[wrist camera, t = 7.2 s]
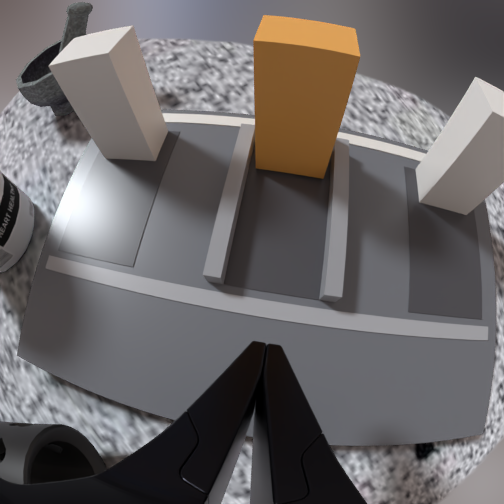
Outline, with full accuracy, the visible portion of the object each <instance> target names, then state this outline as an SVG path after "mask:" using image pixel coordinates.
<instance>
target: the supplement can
mask: <svg viewBox="0 0 504 504" xmlns="http://www.w3.org/2000/svg"><path fill="white" fill-rule="evenodd" d="M33 227H34V206H33V204H32V201H31V199H30V198H29V197H28V196H27V195H26V194H25V193H24V192H23V191H21V190H20V189H19V188H18V187H17V186H16V185H15V184H14V183H13V182H12V181H10V180H9V179H8V178H7V177H6V176H5V175H4V174H3V173H2V172H1V171H0V273H1V272H4V271H6V270H8V269H9V268H10V267H12V266H13V265H14V264H15V263H16V262H17V261H18V260H19V259H20V258H21V256H22V255H23V254H24V252H25V251H26V249H27V247H28V244H29V242H30V239H31V237H32V232H33Z"/></svg>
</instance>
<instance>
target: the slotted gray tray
mask: <svg viewBox="0 0 504 504" xmlns="http://www.w3.org/2000/svg"><path fill="white" fill-rule="evenodd" d="M49 68H50V70H51V72H52V73H53V75H54V77H55V79H56V80H57V82H58V84H59V86H60V87H61V89H62V91H63V92H64V94H65V96H66V97H67V99H68V101H69V102H70V104H71V106H72V107H73V109H74V111H75V112H76V114H77V115H78V117H79V119H80V120H81V122H82V123H83V125H84V127H85V128H86V130H87V131H88V133H89V134H90V136H91V140H90V141H89V143H88V145H87V147H86V149H85V151H84V153H83V155H82V157H81V159H80V161H79V163H78V165H77V167H76V169H75V171H74V173H73V175H72V177H71V179H70V182H69V184H68V186H67V188H66V190H65V193H64V195H63V197H62V200H61V202H60V204H59V207H58V209H57V212H56V214H55V217H54V219H53V222H52V225H51V227H50V230H49V233H48V235H47V238H46V241H45V244H44V247H43V250H42V253H41V256H40V259H39V262H38V266H37V269H36V272H35V276H34V279H33V283H32V287H31V290H30V294H29V298H28V302H27V306H26V311H25V315H24V320H23V325H22V330H21V335H20V340H19V346H18V352H17V356H19V357H21V358H23V359H24V360H26V361H28V362H30V363H32V364H34V365H35V366H37V367H39V368H41V369H43V370H45V371H47V372H49V373H51V374H53V375H55V376H57V377H59V378H61V379H64V380H66V381H68V382H70V383H72V384H74V385H77V386H79V387H81V388H84V389H86V390H88V391H91V392H93V393H96V394H98V395H101V396H103V397H106V398H108V399H111V400H114V401H116V402H119V403H122V404H125V405H127V406H130V407H133V408H136V409H139V410H142V411H145V412H149V413H152V414H155V415H158V416H162V417H165V418H169V419H172V420H176V419H177V418H178V417H179V416H180V415H181V414H183V413H184V412H185V411H186V410H187V409H188V408H189V407H190V406H191V405H192V404H193V403H194V402H195V401H196V400H197V399H198V398H199V397H200V396H201V395H202V394H203V393H204V392H205V391H206V389H207V388H208V387H209V386H210V385H211V384H212V383H213V382H214V381H215V380H216V379H217V378H218V377H219V376H220V375H221V374H222V373H223V372H224V371H225V370H226V369H227V368H228V367H229V365H230V364H231V363H232V362H233V361H234V360H235V359H236V358H237V357H238V356H239V355H240V354H241V353H242V352H243V350H244V349H245V348H246V347H247V346H248V345H249V344H250V343H251V342H252V341H259V342H265V343H266V346H267V344H268V343H271V344H277V345H281V346H282V348H283V350H284V352H285V354H286V356H287V358H288V360H289V362H290V365H291V367H292V369H293V371H294V373H295V375H296V377H297V379H298V381H299V383H300V386H301V388H302V390H303V392H304V394H305V396H306V398H307V400H308V402H309V404H310V406H311V408H312V411H313V413H314V415H315V417H316V419H317V421H318V423H319V425H320V427H321V429H322V431H323V432H322V434H324V435H325V437H326V439H327V441H328V443H329V445H343V446H381V445H403V444H416V443H427V442H436V441H444V440H451V439H458V438H464V437H470V436H475V435H480V434H483V431H484V426H485V421H486V416H487V411H488V405H489V399H490V393H491V386H492V378H493V368H494V357H495V342H496V285H495V269H494V258H493V249H492V240H491V233H490V226H489V220H488V214H487V208H486V203H485V199H486V198H487V197H488V196H489V195H490V194H491V193H492V192H493V191H494V190H496V189H497V188H498V187H499V186H500V185H501V184H502V183H503V182H504V92H503V91H501V90H500V89H498V88H496V87H494V86H492V85H491V84H489V83H487V82H485V81H482V80H481V79H479V78H477V77H475V78H474V80H473V82H472V84H471V85H470V87H469V89H468V90H467V92H466V94H465V95H464V97H463V99H462V100H461V102H460V103H459V105H458V107H457V108H456V110H455V111H454V113H453V114H452V116H451V118H450V119H449V121H448V122H447V124H446V125H445V127H444V128H443V130H442V131H441V133H440V134H439V136H438V137H437V139H436V140H435V142H434V143H433V145H432V146H431V148H430V149H429V151H427V150H423V149H420V148H417V147H413V146H410V145H406V144H403V143H399V142H396V141H392V140H388V139H384V138H380V137H376V136H372V135H368V134H364V133H359V132H355V131H350V130H345V129H340V128H339V131H338V135H337V138H336V141H335V144H334V147H333V150H332V154H331V157H330V160H329V163H328V166H327V169H326V172H325V175H324V178H323V179H321V178H315V177H309V176H304V175H297V174H291V173H285V172H278V171H271V170H264V169H257V168H256V159H255V115H248V114H237V113H225V112H211V111H191V110H161V109H160V106H159V103H158V100H157V97H156V94H155V91H154V88H153V85H152V82H151V79H150V76H149V73H148V70H147V67H146V64H145V61H144V58H143V55H142V52H141V49H140V45H139V42H138V39H137V36H136V33H135V30H134V26H128V27H122V28H117V29H111V30H107V31H101V32H97V33H92V34H88V35H84V36H80V37H76V38H74V39H73V40H72V41H71V42H70V43H69V44H68V45H67V46H66V47H65V48H64V49H63V50H62V51H61V52H60V53H59V54H58V56H57V57H56V58H55V59H54V60H53V61H52V62H51V63H50V65H49ZM255 405H256V404H255ZM186 412H187V411H186ZM254 412H255V409H254ZM253 426H254V413H253V416H252V420H251V423H250V426H249V429H248V431H247V434H246V436H250V437H253Z"/></svg>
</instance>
